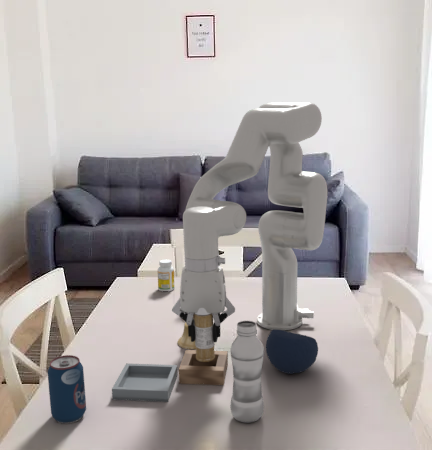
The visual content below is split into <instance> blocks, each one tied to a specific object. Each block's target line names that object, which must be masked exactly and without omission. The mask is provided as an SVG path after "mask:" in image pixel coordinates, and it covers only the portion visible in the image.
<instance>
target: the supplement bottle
mask: <svg viewBox="0 0 432 450" xmlns="http://www.w3.org/2000/svg"><path fill="white" fill-rule="evenodd" d="M158 265H159V266H158V267H157V288H158V290H159V291H160V292H163V291H168V292H171V291H173V290H175V268H174V267H173V261H172V260H171V259H167V258H166V259H161V260H159V264H158Z"/></svg>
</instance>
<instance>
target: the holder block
mask: <svg viewBox="0 0 432 450" xmlns="http://www.w3.org/2000/svg"><path fill="white" fill-rule="evenodd" d="M228 353H229V352H228V351H227V350H214V354H215V358H214V359H213V360H212V361H209V362H201V361H198V360H197V359H196V349H185V351H184V353H183V357H182V359H181V361H180V365H179V368H178V384H181V385H204V386H205V385H207V386H224V385H225V381H226V377H227V373H228V372H227V370H228V366H229V365H228V364H229V356H228V355H229V354H228Z"/></svg>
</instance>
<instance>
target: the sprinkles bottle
mask: <svg viewBox="0 0 432 450" xmlns="http://www.w3.org/2000/svg"><path fill="white" fill-rule="evenodd" d="M194 319H195V324H194V326H195V346H196V349H195V350H196V359H197V360H198V361H201V362H209V361H212V360H213V359H214V358H215V354H214V351H215V342H213V324H214V318H213V315H212V313H207V311H206V310H205V309H204V308H200V309H199V310H198V312H197V313H194Z"/></svg>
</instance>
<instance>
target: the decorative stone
mask: <svg viewBox="0 0 432 450" xmlns="http://www.w3.org/2000/svg"><path fill="white" fill-rule="evenodd" d="M265 342H266V343H265V353H266V355H267V359H268V360H269V362H270V364H271V365H272V366H273V367H274V368H276V370H278V371H280V372H282V373H285V374H291V375H292V374H300V373H302V372H305V371H306V370H308V369H309V368H311V367H312V366H313V365H314V364H315V362H316V360H317V357H318V353H319V347H318V342H317V340H316V338H314V337H312V336H308V335H305V334H300V333H294V332H291V331H288V330H278V329H276V330H275V329H274V330H270V332H269V334H268V336H267V338H266V341H265Z"/></svg>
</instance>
